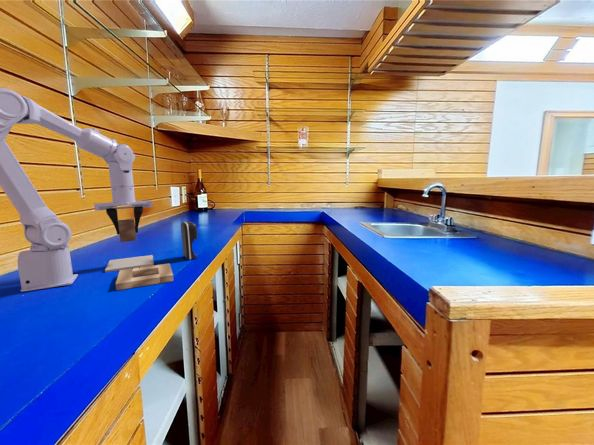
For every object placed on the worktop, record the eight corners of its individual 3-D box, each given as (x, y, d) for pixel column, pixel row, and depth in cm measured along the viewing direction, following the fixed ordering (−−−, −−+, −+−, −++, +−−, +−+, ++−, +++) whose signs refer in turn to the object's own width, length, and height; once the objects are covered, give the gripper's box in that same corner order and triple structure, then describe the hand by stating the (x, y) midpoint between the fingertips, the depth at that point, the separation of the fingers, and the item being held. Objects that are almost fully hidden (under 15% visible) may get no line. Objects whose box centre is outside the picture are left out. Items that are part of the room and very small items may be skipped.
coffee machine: (200, 258, 93) (197, 222, 91) (187, 260, 91) (184, 223, 89) (195, 254, 99) (192, 220, 97) (183, 256, 97) (180, 221, 95)
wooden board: (116, 290, 67) (115, 284, 67) (120, 275, 77) (119, 270, 77) (173, 280, 72) (173, 275, 72) (170, 268, 83) (169, 263, 82)
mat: (105, 272, 81) (104, 270, 81) (110, 262, 92) (109, 260, 91) (153, 265, 86) (153, 263, 86) (152, 256, 97) (152, 254, 97)
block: (120, 242, 85) (118, 221, 84) (121, 240, 88) (118, 220, 87) (136, 240, 87) (134, 220, 86) (136, 238, 90) (134, 218, 89)
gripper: (90, 188, 79) (97, 238, 81) (151, 186, 86) (155, 232, 88) (93, 187, 85) (99, 234, 87) (149, 186, 92) (154, 229, 94)
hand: (127, 233), depth 88 cm, fingers closed on block, 4 cm apart
